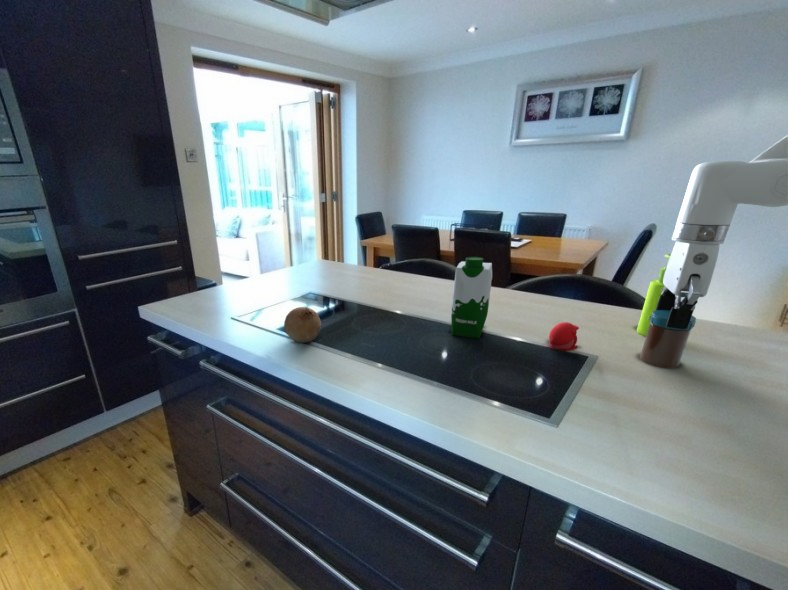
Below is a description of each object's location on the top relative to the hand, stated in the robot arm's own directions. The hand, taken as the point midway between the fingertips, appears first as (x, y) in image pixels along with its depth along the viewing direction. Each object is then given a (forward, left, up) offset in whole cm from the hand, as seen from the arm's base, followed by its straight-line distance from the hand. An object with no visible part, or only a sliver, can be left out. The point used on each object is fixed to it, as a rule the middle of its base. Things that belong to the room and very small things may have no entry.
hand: (669, 320), depth 80 cm
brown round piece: (+78, +17, -10) cm, 80 cm away
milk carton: (+40, -4, -10) cm, 41 cm away
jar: (0, 0, -10) cm, 10 cm away
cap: (+18, -2, -10) cm, 21 cm away
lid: (0, 0, +1) cm, 1 cm away
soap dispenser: (-3, -20, -10) cm, 23 cm away
